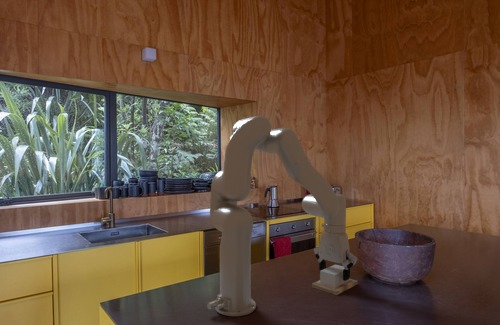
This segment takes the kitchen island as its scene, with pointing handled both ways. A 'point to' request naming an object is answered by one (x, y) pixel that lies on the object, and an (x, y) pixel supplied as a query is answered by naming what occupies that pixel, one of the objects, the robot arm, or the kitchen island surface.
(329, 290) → the pin block
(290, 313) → the kitchen island surface
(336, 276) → the block
